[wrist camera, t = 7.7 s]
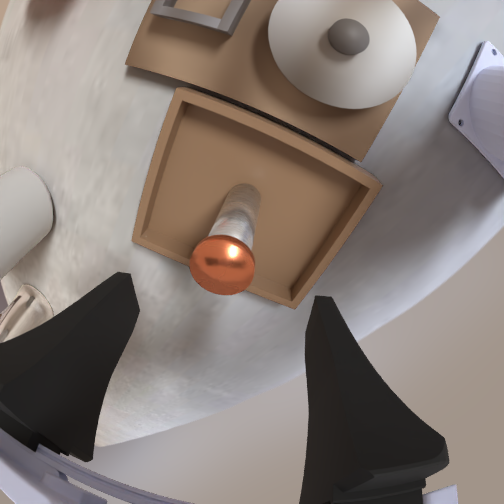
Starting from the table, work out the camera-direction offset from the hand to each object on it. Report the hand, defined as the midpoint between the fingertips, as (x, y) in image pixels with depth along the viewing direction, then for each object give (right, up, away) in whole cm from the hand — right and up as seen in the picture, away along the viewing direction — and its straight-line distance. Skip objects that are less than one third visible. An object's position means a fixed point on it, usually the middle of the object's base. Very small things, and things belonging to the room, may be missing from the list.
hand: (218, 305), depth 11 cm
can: (-19, +7, +10) cm, 23 cm away
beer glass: (-27, -4, +19) cm, 33 cm away
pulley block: (+3, +16, +2) cm, 16 cm away
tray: (+1, +6, +8) cm, 10 cm away
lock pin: (+1, +5, +8) cm, 10 cm away
